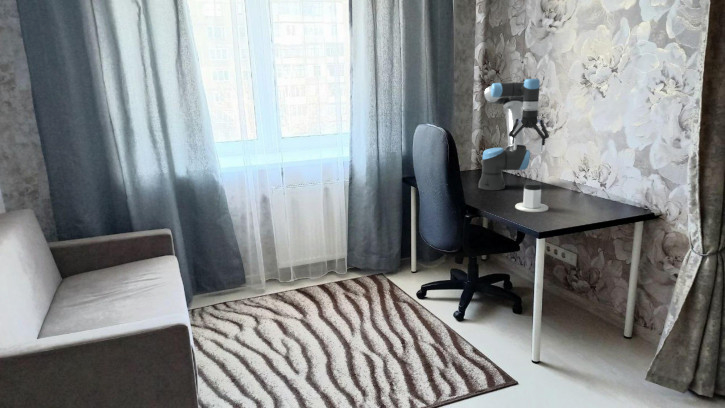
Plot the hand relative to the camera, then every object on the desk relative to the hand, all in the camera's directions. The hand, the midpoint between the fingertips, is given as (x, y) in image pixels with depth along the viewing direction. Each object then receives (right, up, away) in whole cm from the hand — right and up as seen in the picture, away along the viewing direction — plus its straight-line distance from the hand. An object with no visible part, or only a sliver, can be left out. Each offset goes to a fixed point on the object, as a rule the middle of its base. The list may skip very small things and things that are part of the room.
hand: (527, 150), depth 259 cm
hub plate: (-1, -30, -9) cm, 31 cm away
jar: (-1, -30, -9) cm, 31 cm away
